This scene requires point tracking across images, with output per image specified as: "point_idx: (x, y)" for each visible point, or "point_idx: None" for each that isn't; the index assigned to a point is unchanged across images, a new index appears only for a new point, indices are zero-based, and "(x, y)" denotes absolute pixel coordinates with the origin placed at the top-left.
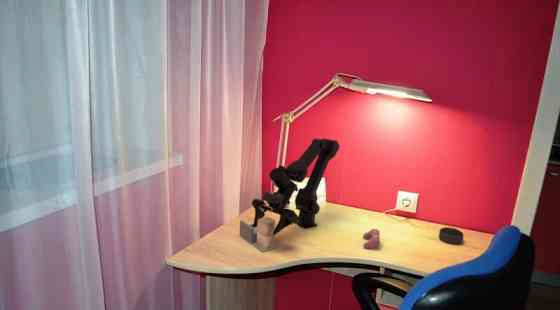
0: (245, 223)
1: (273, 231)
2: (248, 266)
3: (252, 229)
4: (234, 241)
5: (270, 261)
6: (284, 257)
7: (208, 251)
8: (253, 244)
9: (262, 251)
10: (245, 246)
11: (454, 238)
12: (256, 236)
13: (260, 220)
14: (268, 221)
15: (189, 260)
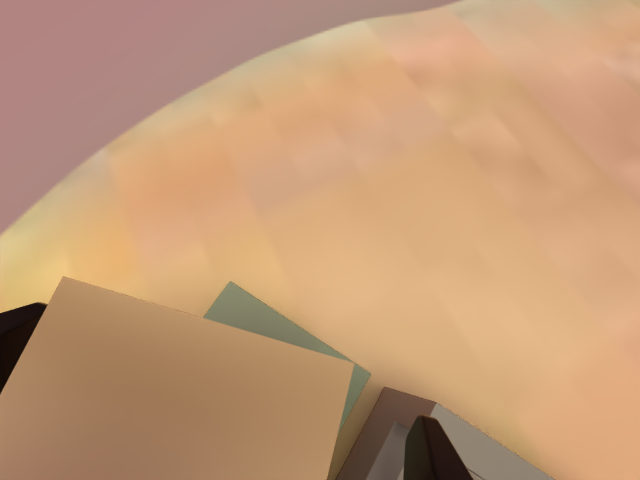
0: None
1: (22, 321)
2: (246, 81)
3: (425, 413)
4: (527, 353)
5: (129, 187)
6: (33, 288)
7: (566, 134)
8: (350, 361)
9: (230, 283)
10: (399, 314)
11: None
12: (367, 452)
13: (272, 354)
14: (54, 400)
15: (570, 18)
